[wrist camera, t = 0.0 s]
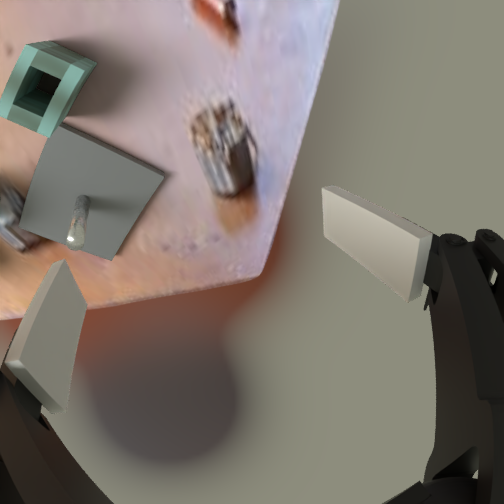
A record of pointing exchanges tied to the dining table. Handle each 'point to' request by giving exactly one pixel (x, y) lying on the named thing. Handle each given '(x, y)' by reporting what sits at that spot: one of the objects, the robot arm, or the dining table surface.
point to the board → (87, 190)
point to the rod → (78, 223)
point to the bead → (39, 102)
